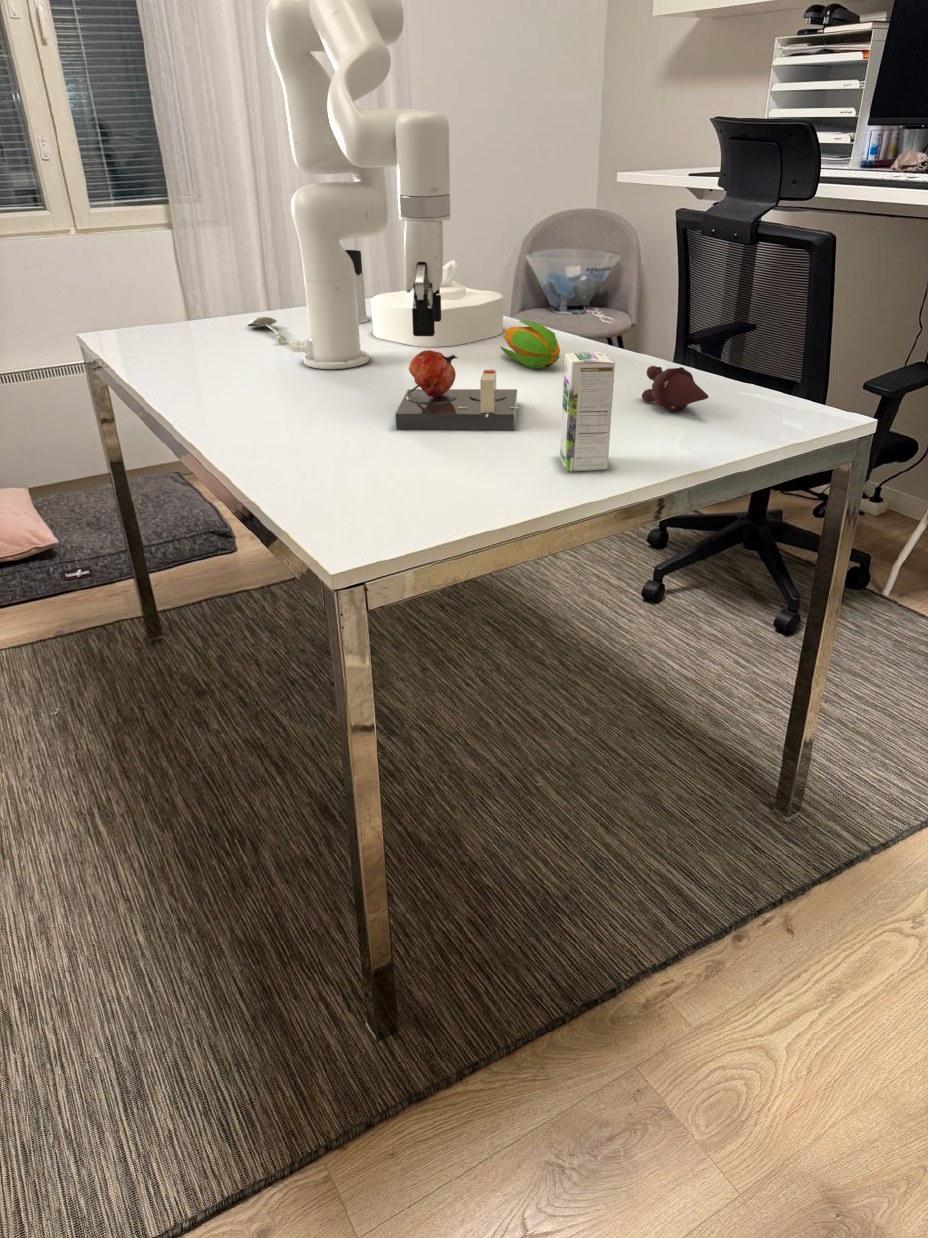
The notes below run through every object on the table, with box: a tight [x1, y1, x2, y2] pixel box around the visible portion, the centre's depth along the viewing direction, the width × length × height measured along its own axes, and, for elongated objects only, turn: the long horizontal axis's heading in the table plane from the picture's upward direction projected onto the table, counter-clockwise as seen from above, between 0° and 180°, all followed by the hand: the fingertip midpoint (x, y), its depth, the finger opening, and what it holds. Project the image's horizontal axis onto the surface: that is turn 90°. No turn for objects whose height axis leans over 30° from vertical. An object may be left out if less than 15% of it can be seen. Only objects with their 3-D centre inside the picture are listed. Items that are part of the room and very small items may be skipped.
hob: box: [395, 388, 520, 431], centre depth 145 cm, size 19×16×3 cm
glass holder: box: [344, 249, 369, 324], centre depth 214 cm, size 9×14×15 cm, turn 171°
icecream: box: [641, 365, 709, 413], centre depth 145 cm, size 7×7×15 cm
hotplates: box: [407, 390, 507, 404], centre depth 147 cm, size 16×8×1 cm, turn 85°
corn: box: [500, 319, 561, 370], centre depth 175 cm, size 7×8×20 cm
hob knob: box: [479, 369, 497, 413], centre depth 140 cm, size 5×2×5 cm, turn 174°
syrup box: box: [559, 351, 616, 472], centre depth 122 cm, size 6×6×14 cm
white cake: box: [370, 259, 504, 348], centre depth 198 cm, size 25×25×16 cm
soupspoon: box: [247, 316, 287, 345], centre depth 203 cm, size 22×3×7 cm
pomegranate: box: [408, 349, 459, 397], centre depth 146 cm, size 7×7×10 cm
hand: (427, 328), depth 143 cm, fingers open, 9 cm apart
